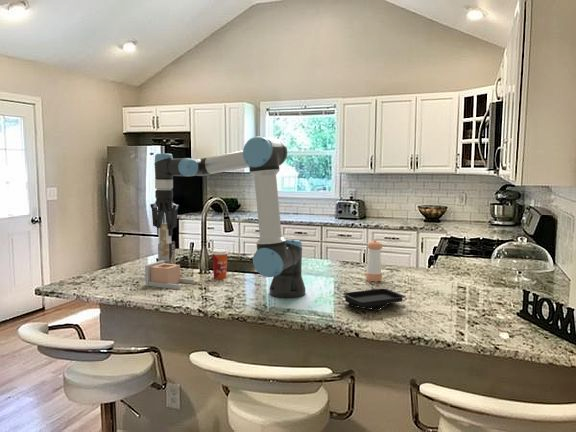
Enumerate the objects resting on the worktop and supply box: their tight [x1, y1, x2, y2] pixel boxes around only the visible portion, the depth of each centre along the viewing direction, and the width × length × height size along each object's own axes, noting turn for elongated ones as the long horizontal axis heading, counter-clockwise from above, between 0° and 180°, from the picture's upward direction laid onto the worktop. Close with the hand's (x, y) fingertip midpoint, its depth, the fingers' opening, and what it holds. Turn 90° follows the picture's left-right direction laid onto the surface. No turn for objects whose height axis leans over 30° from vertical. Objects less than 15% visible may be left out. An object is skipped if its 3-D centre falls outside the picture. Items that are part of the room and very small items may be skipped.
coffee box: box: [157, 240, 176, 264], centre depth 231 cm, size 9×6×16 cm
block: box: [151, 263, 181, 285], centre depth 208 cm, size 9×9×8 cm
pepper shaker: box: [365, 239, 383, 282], centre depth 222 cm, size 7×7×19 cm
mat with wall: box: [144, 260, 195, 290], centre depth 211 cm, size 19×20×10 cm
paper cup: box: [211, 248, 229, 280], centre depth 221 cm, size 8×8×14 cm
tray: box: [342, 288, 406, 310], centre depth 182 cm, size 30×23×5 cm
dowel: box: [161, 222, 169, 256], centre depth 207 cm, size 3×3×14 cm
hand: (165, 242), depth 207 cm, fingers closed on dowel, 3 cm apart
